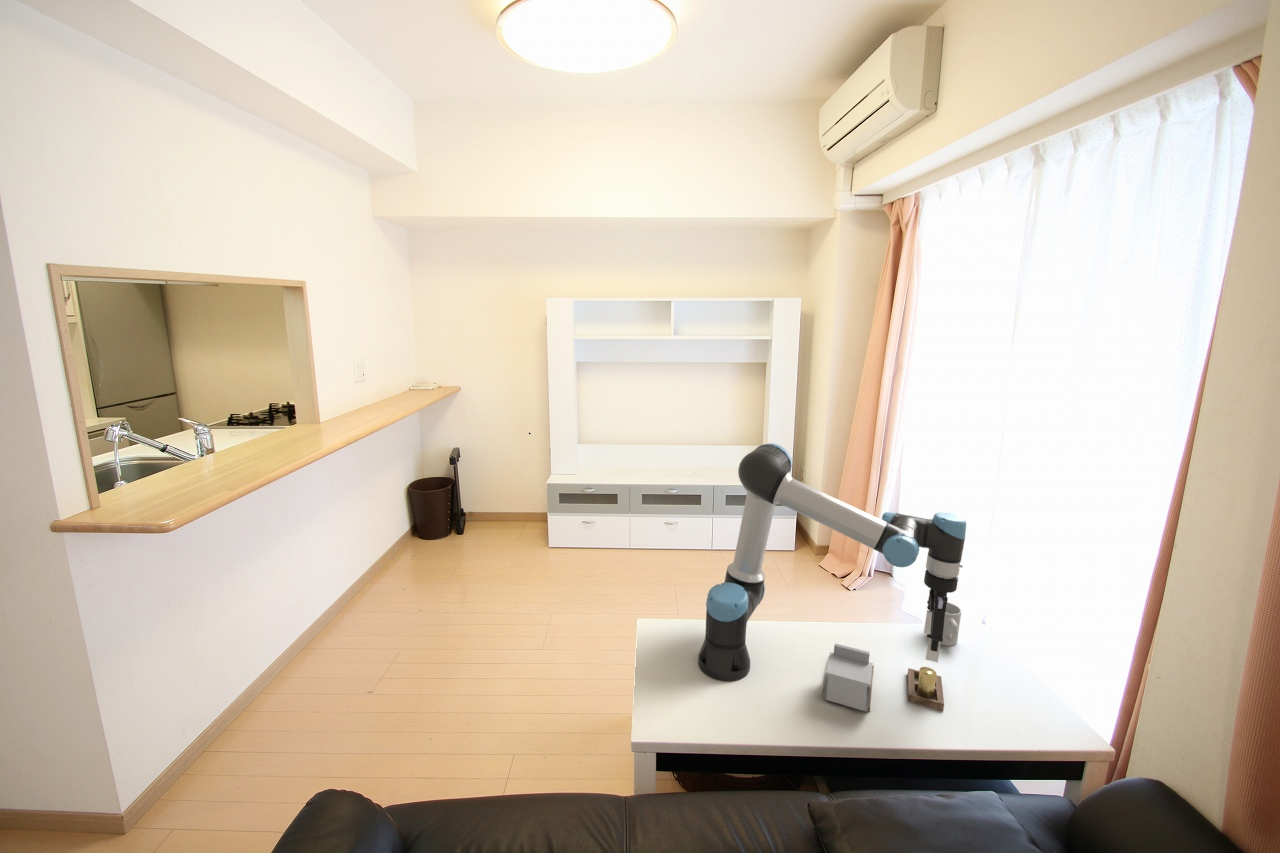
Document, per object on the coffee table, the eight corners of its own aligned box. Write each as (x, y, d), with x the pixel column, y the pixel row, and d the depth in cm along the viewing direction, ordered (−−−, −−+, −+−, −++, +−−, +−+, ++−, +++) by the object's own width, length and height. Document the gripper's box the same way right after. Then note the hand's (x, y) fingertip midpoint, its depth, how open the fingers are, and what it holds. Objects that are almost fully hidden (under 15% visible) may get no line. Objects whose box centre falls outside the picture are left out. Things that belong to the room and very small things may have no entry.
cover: (823, 698, 146) (826, 662, 144) (827, 677, 155) (830, 642, 152) (867, 711, 141) (871, 674, 139) (869, 689, 150) (873, 653, 148)
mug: (922, 630, 182) (926, 600, 180) (949, 632, 181) (953, 601, 179) (939, 651, 170) (943, 619, 168) (967, 653, 170) (972, 621, 168)
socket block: (907, 701, 148) (908, 694, 147) (907, 674, 159) (908, 668, 159) (943, 710, 144) (944, 704, 144) (940, 682, 156) (941, 676, 155)
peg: (916, 700, 148) (919, 673, 146) (916, 691, 151) (919, 665, 150) (933, 704, 146) (936, 677, 145) (932, 695, 150) (936, 669, 148)
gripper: (963, 597, 129) (950, 677, 133) (954, 557, 151) (943, 627, 156) (927, 589, 132) (915, 668, 137) (924, 551, 155) (913, 620, 159)
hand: (930, 646), depth 146 cm, fingers open, 13 cm apart
